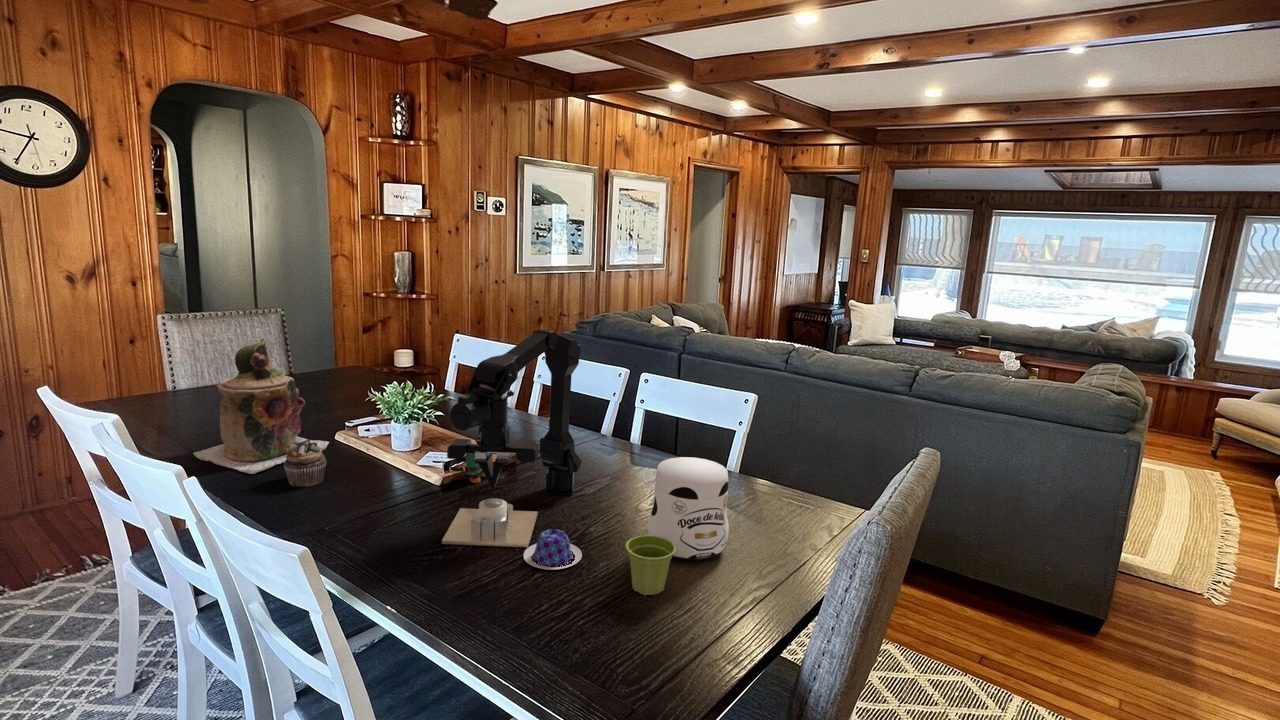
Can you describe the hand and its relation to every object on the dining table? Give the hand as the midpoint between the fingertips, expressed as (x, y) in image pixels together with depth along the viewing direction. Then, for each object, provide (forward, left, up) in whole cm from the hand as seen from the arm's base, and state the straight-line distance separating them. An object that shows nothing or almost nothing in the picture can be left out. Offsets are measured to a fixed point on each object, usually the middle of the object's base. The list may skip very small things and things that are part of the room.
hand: (493, 487), depth 146 cm
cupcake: (+51, -22, -10) cm, 56 cm away
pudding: (-15, +11, -10) cm, 21 cm away
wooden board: (0, 0, -10) cm, 10 cm away
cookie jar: (+71, -39, -10) cm, 82 cm away
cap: (0, 0, -9) cm, 9 cm away
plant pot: (-34, +22, -10) cm, 42 cm away
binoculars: (+12, -29, -10) cm, 33 cm away
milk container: (-43, +5, -10) cm, 44 cm away
